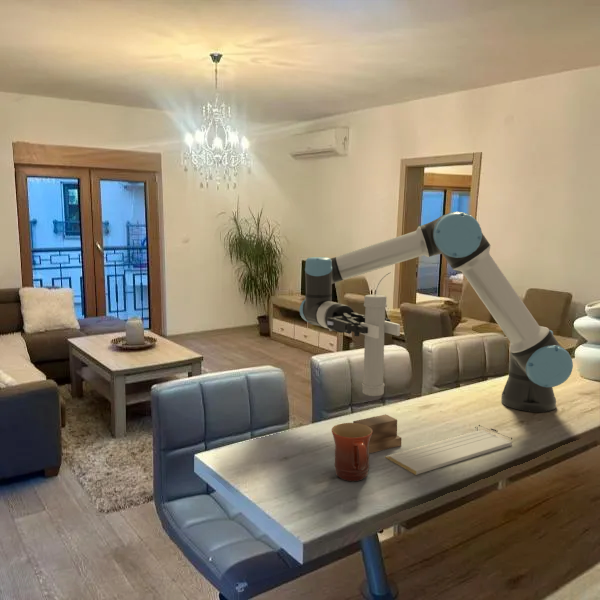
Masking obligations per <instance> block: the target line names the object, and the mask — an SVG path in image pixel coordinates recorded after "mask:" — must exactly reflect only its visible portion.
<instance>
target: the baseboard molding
mask: <svg viewBox="0 0 600 600" xmlns="http://www.w3.org/2000/svg"><path fill="white" fill-rule="evenodd" d="M480 427H481V428H483V426H482V425H480V424H478V426H475V427H474V428H475V429H476V430H475V431H474V430H473V431H470V432H467V433H463V434H461V435H456V436H452V437H449V438H446V439H442V440H438V441H435V442H430V443H428V444H424V445H421V446H417V447H413V448H410V449H405V450H401V451H399V452H395V453H391V454H388V455H385V456H384V457H385V459H387V460H389V461H391V462H392V463H394V464H396V465H397V466H399V467H401V468H403V469H405V470H406V471H408V472H410V473H412V474H414V475H416V476H417V475H419V474H423V473H427V472H429V471H433V470H436V469H440V468H442V467H446V466H449V465H452V464H455V463H459V462H461V461H462V462H463V461H465V460H469V459H471V458H474V457H478V456H481V455H484V454H489V453H491V452H495V451H497V450H501V449H504V448H507V447H510V446H512V445H513V441H511V440H513V437H508V436H506V435H503V434H501V433H499V432H498V429H496V428H490V431H492V432H494V433H497V434H499V435H501V436H504V437H507V438H509V439H510V440H509V439H506V438H504V437H501V436H497V435H496V434H493V433H491V432H488V431H486V430H484V429H482V430H479V429H478V428H480ZM485 429H487V430H488V428H487V427H485Z"/></svg>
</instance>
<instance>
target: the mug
mask: <svg viewBox="0 0 600 600" xmlns="http://www.w3.org/2000/svg"><path fill="white" fill-rule="evenodd" d="M331 433H332V436H333V440H334V463H333V465H334V469H335V474H336V476H337V477H338V478H340V479H341V480H344V481H347V482H359V481H363V479H365V478H366V477H368V474H369V469H370V453H369V442H370V439H371V436H372V433H373V431H372V429H371V428H370V427H369V426H367V425H364V424H359V423H353V422H343V423H338V424H336V425H334V426H332V428H331Z"/></svg>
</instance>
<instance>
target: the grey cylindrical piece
mask: <svg viewBox="0 0 600 600" xmlns="http://www.w3.org/2000/svg"><path fill="white" fill-rule="evenodd" d="M389 274H391V272H388V273H387V274H385V275H384V276H383V277H382V278H381V279H380V280H379V282H378V283H377V286H376V289H375V294H366V295H365V296H364V299H363V300H364V303H363V307H365V309H364V310H365V311H364V312H365V313H364V315H365V323H367V324H371V325H374V326H378V327H379V338H373V337H370V336H366V335H364V349H363V350H364V353H363V355H364V357H363V358H364V359H363V381H362V382H361V385H362V386H361V387H362V390H361V391H362V394H363V395H366V396H369V397H380V396H383V395H384V393H385V386H386V385H385V382H384V363H385V361H384V360H385V359H384V357H385V332H384V329H385V317H386V308H387V306H388V304H387V299H388V298H387V296H386V295H384V294H377V290H378V288H379V285H380V284H381V282H382V280H384V278H385V277H386V276H388V275H389Z"/></svg>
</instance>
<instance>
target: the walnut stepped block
mask: <svg viewBox="0 0 600 600" xmlns="http://www.w3.org/2000/svg"><path fill="white" fill-rule="evenodd" d="M352 423H359V424H364V425H367V426H369V427H370V428H371V429H372V431H373V433H372V436H371V439H370V442H369V454H372V453H376V452H380V451H385V450H389V449H393V448H398V447H402V437H401V436H399V435H398V419H397V418H394V417H392V416H390V415H389V414H386V413H385V414H381V415H376V416H372V417H367V418H362V419H358V420H353V421H352Z"/></svg>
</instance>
